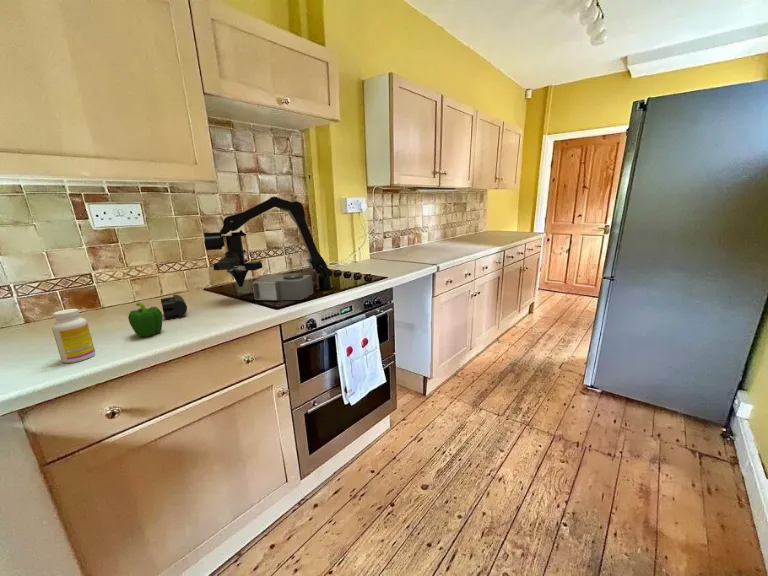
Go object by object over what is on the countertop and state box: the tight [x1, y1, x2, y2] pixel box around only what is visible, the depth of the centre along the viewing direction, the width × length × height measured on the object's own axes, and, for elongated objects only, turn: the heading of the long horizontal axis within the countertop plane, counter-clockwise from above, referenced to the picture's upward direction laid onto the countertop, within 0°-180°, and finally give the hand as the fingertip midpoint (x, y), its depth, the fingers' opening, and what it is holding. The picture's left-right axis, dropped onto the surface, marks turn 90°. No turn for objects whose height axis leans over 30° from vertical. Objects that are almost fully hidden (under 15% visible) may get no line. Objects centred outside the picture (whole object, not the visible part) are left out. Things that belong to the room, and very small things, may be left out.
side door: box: [251, 281, 280, 301], centre depth 132 cm, size 3×10×7 cm, turn 77°
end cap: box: [160, 294, 188, 321], centre depth 118 cm, size 10×7×7 cm
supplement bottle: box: [51, 308, 96, 364], centre depth 85 cm, size 7×7×13 cm
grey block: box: [253, 272, 315, 301], centre depth 138 cm, size 12×20×9 cm, turn 77°
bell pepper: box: [127, 302, 164, 338], centre depth 100 cm, size 8×8×10 cm
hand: (240, 286), depth 134 cm, fingers closed
